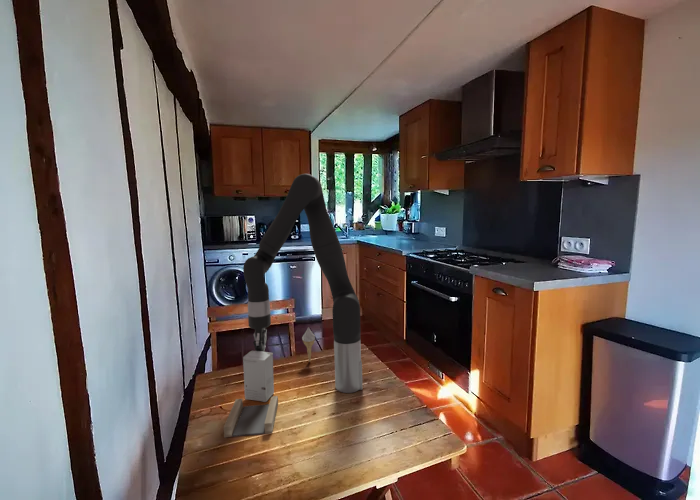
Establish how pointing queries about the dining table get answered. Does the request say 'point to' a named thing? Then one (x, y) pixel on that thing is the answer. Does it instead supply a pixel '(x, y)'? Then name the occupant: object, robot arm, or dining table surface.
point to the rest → (251, 418)
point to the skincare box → (258, 375)
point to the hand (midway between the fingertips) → (261, 360)
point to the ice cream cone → (308, 341)
